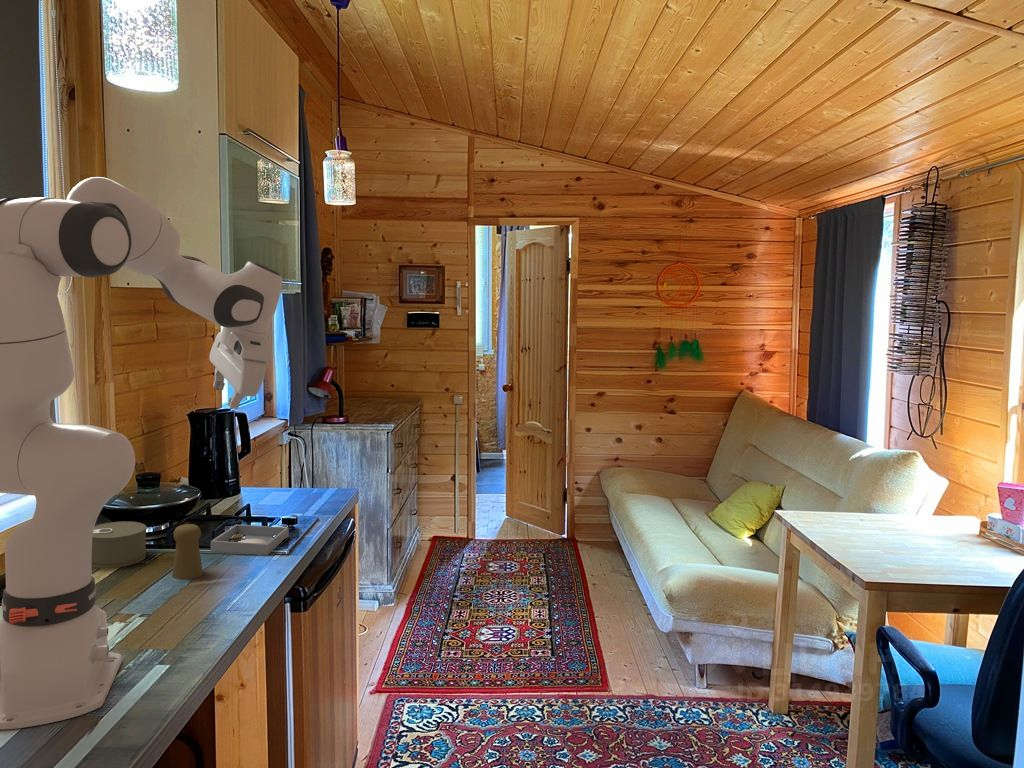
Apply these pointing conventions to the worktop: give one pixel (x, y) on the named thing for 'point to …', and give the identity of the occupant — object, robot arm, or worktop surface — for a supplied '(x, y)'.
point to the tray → (251, 533)
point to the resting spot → (254, 541)
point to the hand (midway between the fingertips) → (224, 398)
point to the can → (118, 544)
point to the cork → (187, 552)
